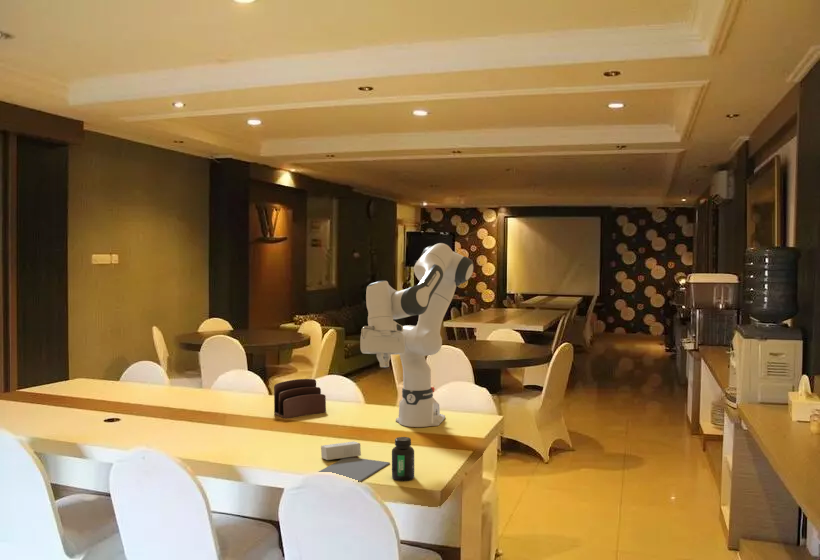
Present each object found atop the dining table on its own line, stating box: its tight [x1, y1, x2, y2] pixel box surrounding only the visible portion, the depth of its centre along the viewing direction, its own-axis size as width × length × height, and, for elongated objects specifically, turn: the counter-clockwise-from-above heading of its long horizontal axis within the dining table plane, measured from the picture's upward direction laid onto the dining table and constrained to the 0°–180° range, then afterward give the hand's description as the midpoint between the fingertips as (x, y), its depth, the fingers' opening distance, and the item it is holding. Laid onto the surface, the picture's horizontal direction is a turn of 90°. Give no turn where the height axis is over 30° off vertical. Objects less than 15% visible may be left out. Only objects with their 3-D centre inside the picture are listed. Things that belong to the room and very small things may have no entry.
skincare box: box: [320, 441, 362, 461], centre depth 233 cm, size 6×4×12 cm
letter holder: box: [273, 378, 327, 419], centre depth 299 cm, size 10×20×14 cm, turn 125°
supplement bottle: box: [391, 436, 415, 482], centre depth 212 cm, size 7×7×12 cm
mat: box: [318, 456, 390, 482], centre depth 220 cm, size 20×16×1 cm
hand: (384, 367), depth 238 cm, fingers closed
